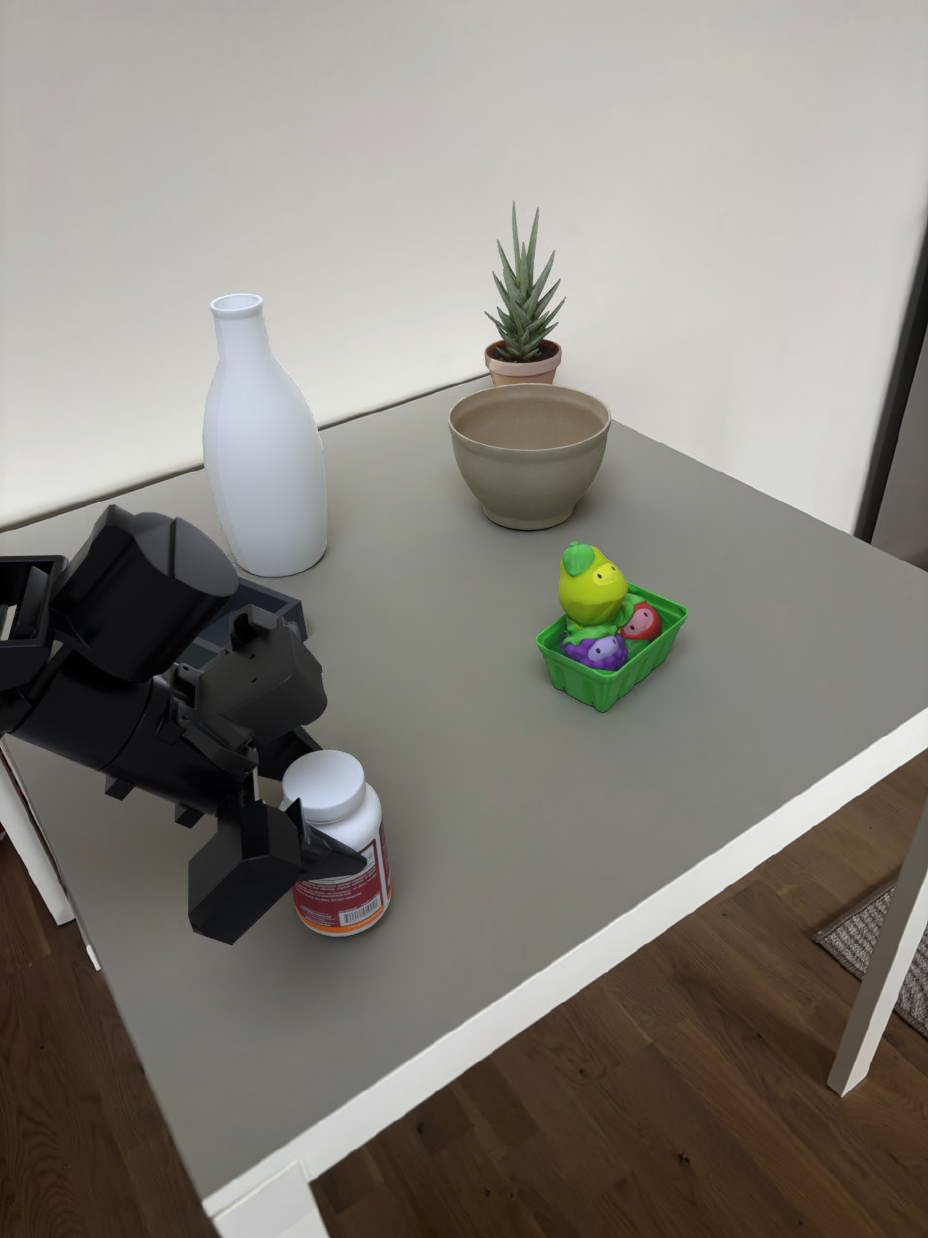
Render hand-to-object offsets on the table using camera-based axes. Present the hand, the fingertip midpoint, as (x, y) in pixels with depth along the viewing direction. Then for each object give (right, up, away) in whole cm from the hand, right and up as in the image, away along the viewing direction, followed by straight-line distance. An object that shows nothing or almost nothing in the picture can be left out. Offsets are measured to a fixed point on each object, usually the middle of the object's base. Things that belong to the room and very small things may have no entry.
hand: (355, 825), depth 58 cm
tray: (-16, +8, +24) cm, 30 cm away
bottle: (-12, +19, +40) cm, 45 cm away
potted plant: (+14, +40, +66) cm, 78 cm away
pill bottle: (-1, -6, +4) cm, 7 cm away
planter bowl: (+13, +24, +45) cm, 53 cm away
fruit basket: (+18, +8, +23) cm, 30 cm away
